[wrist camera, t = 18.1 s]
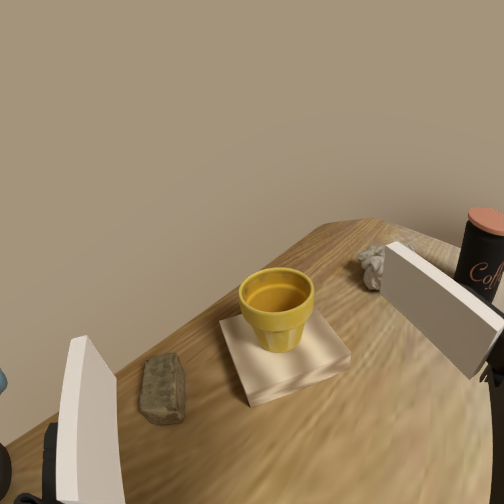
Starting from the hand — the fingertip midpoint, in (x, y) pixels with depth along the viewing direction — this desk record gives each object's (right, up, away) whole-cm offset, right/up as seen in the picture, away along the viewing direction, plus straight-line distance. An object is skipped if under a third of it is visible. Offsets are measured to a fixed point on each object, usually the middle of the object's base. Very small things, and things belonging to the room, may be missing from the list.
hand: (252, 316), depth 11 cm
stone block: (-13, -20, +29) cm, 38 cm away
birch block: (+5, -14, +35) cm, 38 cm away
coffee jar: (+46, -7, +36) cm, 59 cm away
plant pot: (+4, -11, +33) cm, 35 cm away
